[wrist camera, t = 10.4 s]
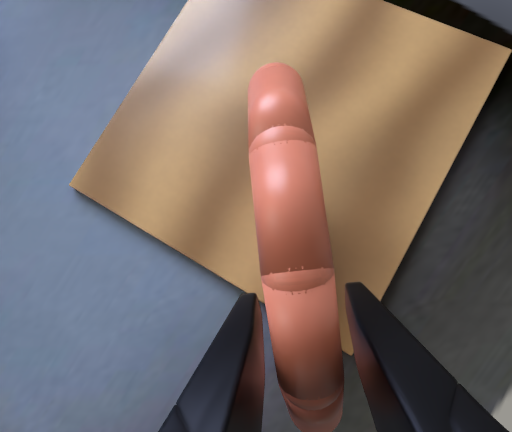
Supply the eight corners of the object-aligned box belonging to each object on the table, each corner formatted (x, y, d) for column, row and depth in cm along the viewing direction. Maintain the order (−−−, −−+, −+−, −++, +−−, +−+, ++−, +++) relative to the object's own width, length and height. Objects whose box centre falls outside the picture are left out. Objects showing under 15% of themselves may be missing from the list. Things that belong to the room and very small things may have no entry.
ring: (329, 375, 16) (376, 535, 5) (296, 377, 16) (282, 538, 6) (299, 146, 18) (292, -44, 8) (270, 149, 18) (225, -31, 8)
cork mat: (508, 54, 18) (512, 49, 17) (350, 354, 16) (351, 356, 16) (227, -54, 21) (226, -60, 21) (73, 187, 19) (68, 185, 19)
